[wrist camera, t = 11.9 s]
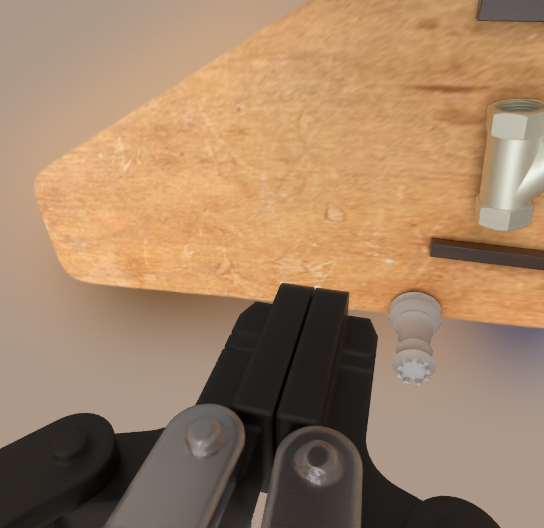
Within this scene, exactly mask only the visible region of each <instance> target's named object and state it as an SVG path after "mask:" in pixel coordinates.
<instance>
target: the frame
mask: <svg viewBox="0 0 544 528" xmlns="http://www.w3.org/2000/svg"><path fill="white" fill-rule="evenodd" d="M476 19H477V20H478V21H517V22H544V0H480V1H479V6H478V11H477V16H476ZM430 256H431V257H439V258H447V259H455V260H463V261H472V262H480V263H488V264H496V265H504V266H512V267H521V268H529V269H537V270H544V251H541V250H532V249H523V248H515V247H506V246H497V245H488V244H480V243H471V242H462V241H453V240H444V239H436V238H432V242H431V247H430Z"/></svg>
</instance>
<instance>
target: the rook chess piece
mask: <svg viewBox="0 0 544 528" xmlns="http://www.w3.org/2000/svg"><path fill="white" fill-rule="evenodd" d="M441 313H442V310H441V307H440V305H439V303H438V302H437V301H436V300H435V299H434V298H433V297H432V296H429V295H427V294H424V293H422V292H408V293H404V294H401V295H400V296H398V297H397V298H395V299H394V300H393V302H392V303H391V305H390V311H389V314H390V322H391V324H392V327H393V329H394V330H395V331H396V333H397V334H398V339H399V344H398V345H397V347H396V353H397V354H396V355H395V357H394V358H393V360H392V366H393V368H394V370H395V372H396V373H397V377H398V378H403V383H405V384H408V385H409V383H410V381H415V386H419V385H422V380H424V381H425V382H428V381H429V380H430V376H431V375H432V374H433V373H434V371H435V368H436V364H435V361H434V359H433V358H432V349H431V346H430V340H431V337H432V336H433V334H434V333H435V332H436V331H437V329H438V328H439V326H440V322H441Z"/></svg>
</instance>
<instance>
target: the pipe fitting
mask: <svg viewBox="0 0 544 528" xmlns="http://www.w3.org/2000/svg"><path fill="white" fill-rule="evenodd" d="M485 126H486V130H487V132H488V135H487V143H486V150H485V157H484V165H483V172H482V180H481V187H480V194H478V195H476V200H475V208H474V214H475V218H476V221H477V223H478V224H479V225H481V226H483V227H486V228H489V229H493V230H498V231H514V230H518V229H521V228H524V227H526V226H528V225H530V224H531V221H532V216H533V211H534V204H533V202H532V200H533V199H534V198H535V197H537V196H538V195H539V194H541V193H542V192H544V101H540V100H535V99H506V100H501V101H497V102H495V103H492V104H490V105H488V109H487V116H486V124H485Z"/></svg>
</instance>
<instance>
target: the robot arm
mask: <svg viewBox="0 0 544 528" xmlns="http://www.w3.org/2000/svg"><path fill="white" fill-rule="evenodd" d="M348 304H349V292H344V291H337V290H330V289H323V288H316V289H315V288H314V287H308V286H302V285H295V284H288V283H282V284H281V285H280V287H279V290H278V292H277V294H276V297H275V299H274V302H273V304H269V303H262V302H255V303H254V304H252V305H251V306H250V307H249V308H247V309H246V310H245V311H244V312H243V313H242V314H240V316H239V318H238V320H237V322H236V324H235V326H234V328H233V330H232V334H231V335H230V336H229V338H228V340H227V342H226V344H225V349H223V350H222V353H221V354H220V356H219V358H218V361H217V363H216V365H215V367H214V369H213V371H212V373H211V375H210V377H209V379H208V381H207V383H206V385H205V387H204V389H203V391H202V393H201V395H200V397H199V399H198V401H197V403H196V405H195V406H192V407H190V408H187V409H185V410H183V411H182V412H180V413H179V414H178V415H176V416H175V417H174V418H173V419H172V420H171V421H170V422H169V424H168V425H167V426H166V427H165V428H161V429H158V430H152V431H142V432H131V433H118V434H115V433H114V430H113V428H112V426H111V424H110V423H109V422H108V421H107V420H106V419H105V418H103V417H101V416H99V415H96V414H91V413H79V414H74V415H69V416H66V417H64V418H61V419H59V420H57V421H55V422H53V423H51V424H49V425H47V426H45V427H43V428H41V429H39V430H37V431H35V432H33V433H31V434H29V435H27V436H25V437H23V438H21V439H19V440H17V441H15V442H13V443H11V444H9V445H7V446H5V447H3V448H1V449H0V528H251V520H252V517H253V513H254V510H255V507H256V503H257V500H258V496H259V493H260V492H264V493H268V494H267V499H266V504H265V509H264V514H263V519H262V524H261V528H500V527H499V525H498V524H497V523H496V522H495V521H494V520H493V519H492V518H491V517H490V516H489V515H488V514H487V513H486V512H484V511H483V510H482V509H480V508H479V507H477V506H476V505H474V504H472V503H470V502H468V501H466V500H463V499H460V498H457V497H451V496H437V497H432V498H429V499H426V500H424V501H422V500H420V499H418V498H417V497H415V496H413V495H411V494H409V493H408V492H406V491H404V490H402V489H401V488H399V487H397V486H395V485H394V484H392V483H391V482H390V481H389V480H387V479H386V478H385V477H384V476H383V475H382V474H381V473H380V472H379V471H378V470H377V469H376V467H375V466H374V464H373V463H372V461H371V458H370V456H369V454H368V451H367V446H366V432H367V424H368V416H369V407H370V399H371V390H372V381H373V373H374V365H375V357H376V347H377V340H378V336H377V334H376V332H375V329H374V327H373V325H372V323H371V320H370V319H366V318H360V317H354V316H348V315H347V314H348Z"/></svg>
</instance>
